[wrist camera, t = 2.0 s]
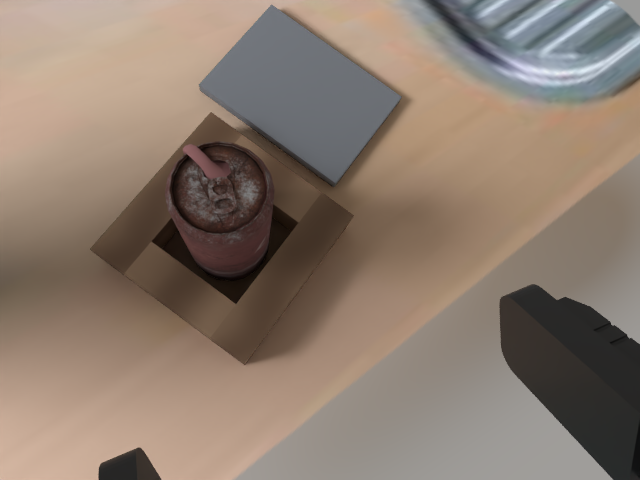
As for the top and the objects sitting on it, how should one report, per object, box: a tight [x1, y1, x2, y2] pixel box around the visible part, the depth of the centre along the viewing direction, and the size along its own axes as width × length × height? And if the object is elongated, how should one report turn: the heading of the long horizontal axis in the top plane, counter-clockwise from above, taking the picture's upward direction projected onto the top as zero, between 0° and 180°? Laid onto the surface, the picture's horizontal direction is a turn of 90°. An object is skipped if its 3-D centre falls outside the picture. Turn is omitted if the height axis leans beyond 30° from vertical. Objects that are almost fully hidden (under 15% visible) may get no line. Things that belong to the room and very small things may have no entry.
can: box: [165, 141, 275, 281], centre depth 37 cm, size 6×6×14 cm
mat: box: [199, 5, 401, 187], centre depth 47 cm, size 14×10×1 cm
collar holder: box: [90, 112, 354, 365], centre depth 42 cm, size 14×14×4 cm
